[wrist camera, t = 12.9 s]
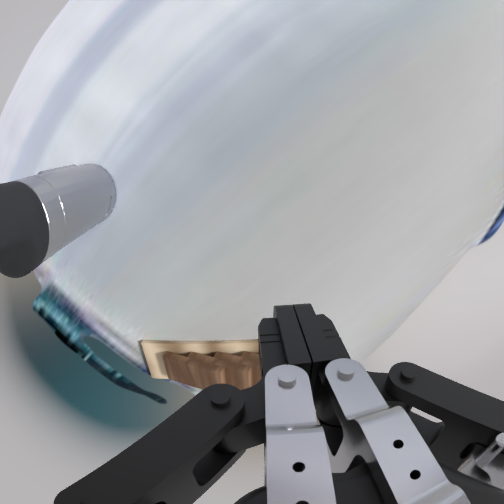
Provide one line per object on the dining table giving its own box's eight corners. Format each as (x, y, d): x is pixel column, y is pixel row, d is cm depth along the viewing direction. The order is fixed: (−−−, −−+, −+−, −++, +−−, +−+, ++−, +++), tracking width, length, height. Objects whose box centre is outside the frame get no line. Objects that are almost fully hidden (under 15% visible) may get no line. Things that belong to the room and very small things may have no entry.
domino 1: (168, 378, 47) (223, 395, 44) (162, 356, 45) (220, 373, 42) (172, 373, 48) (226, 388, 45) (166, 351, 46) (224, 366, 43)
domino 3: (216, 379, 47) (275, 393, 44) (213, 356, 45) (276, 370, 42) (219, 373, 49) (278, 386, 45) (216, 351, 47) (279, 364, 43)
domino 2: (191, 379, 47) (249, 394, 44) (187, 356, 45) (248, 372, 42) (195, 373, 49) (252, 388, 45) (191, 351, 47) (251, 365, 43)
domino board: (153, 375, 49) (152, 377, 49) (142, 340, 46) (141, 342, 46) (276, 374, 51) (276, 377, 50) (278, 338, 47) (278, 341, 47)
